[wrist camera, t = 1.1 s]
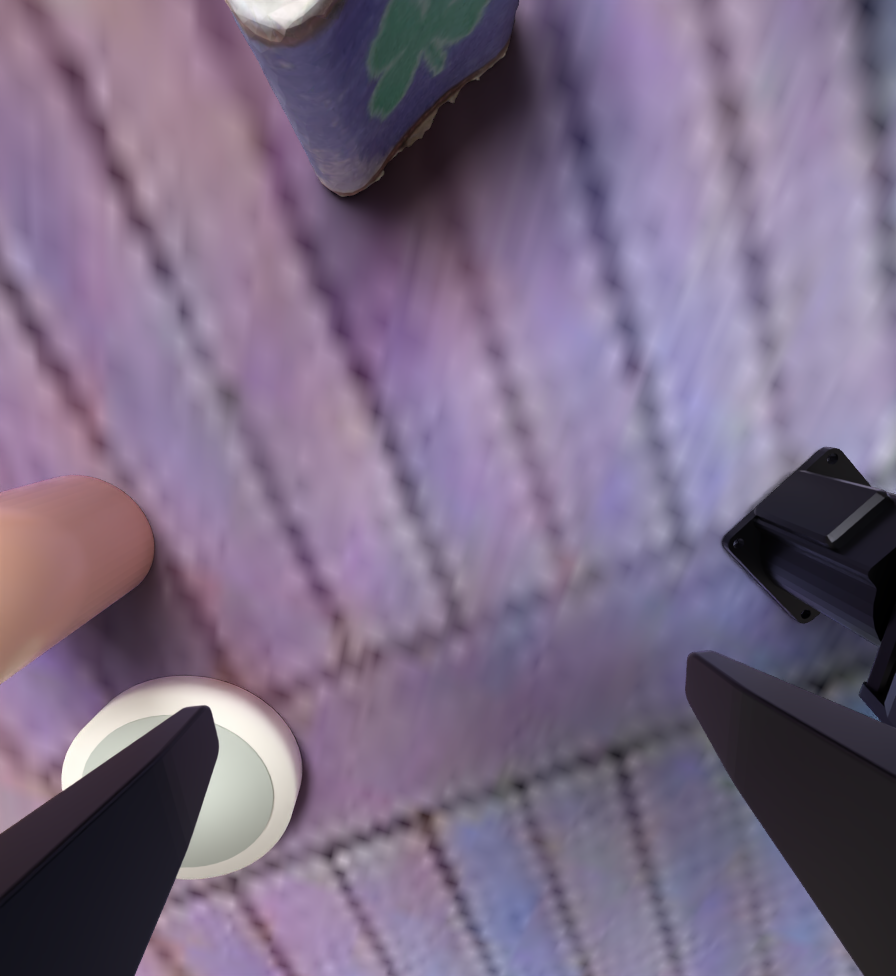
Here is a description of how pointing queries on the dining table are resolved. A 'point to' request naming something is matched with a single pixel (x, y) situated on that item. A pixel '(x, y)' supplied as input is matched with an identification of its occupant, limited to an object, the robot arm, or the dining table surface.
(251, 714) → the round white dish
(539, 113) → the dining table surface
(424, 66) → the flask
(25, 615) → the peach domed cylinder
